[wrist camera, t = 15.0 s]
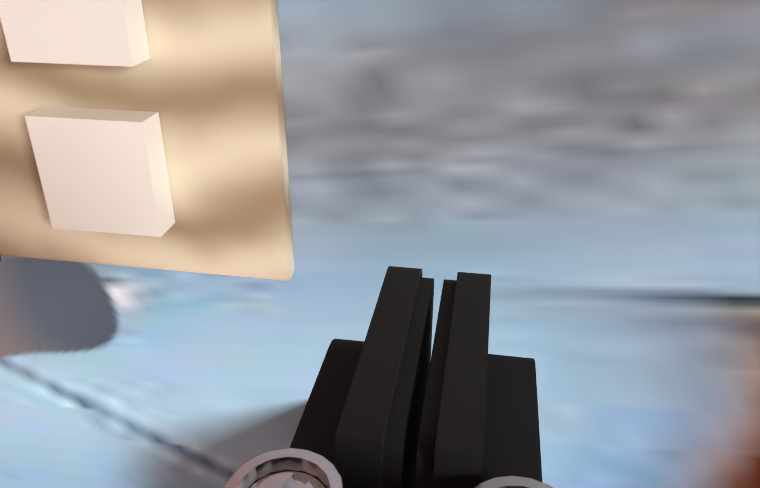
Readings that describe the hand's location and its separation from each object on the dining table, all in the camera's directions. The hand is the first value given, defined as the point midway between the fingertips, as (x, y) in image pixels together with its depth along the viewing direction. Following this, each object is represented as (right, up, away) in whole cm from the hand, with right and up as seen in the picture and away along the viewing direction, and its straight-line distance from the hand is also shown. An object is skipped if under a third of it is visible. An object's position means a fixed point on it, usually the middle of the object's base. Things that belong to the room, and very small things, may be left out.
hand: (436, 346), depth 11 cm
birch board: (-16, +11, +28) cm, 34 cm away
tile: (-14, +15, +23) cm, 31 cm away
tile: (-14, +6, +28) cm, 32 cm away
